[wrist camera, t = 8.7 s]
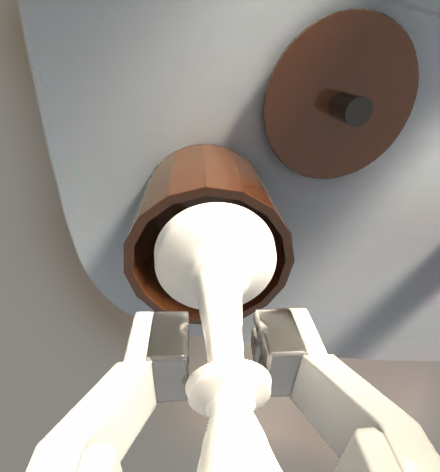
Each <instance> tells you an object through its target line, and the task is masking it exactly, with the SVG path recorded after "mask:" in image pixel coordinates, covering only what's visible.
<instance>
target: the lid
mask: <svg viewBox="0 0 440 472" xmlns="http://www.w3.org/2000/svg"><path fill="white" fill-rule="evenodd" d="M418 79H419V70H418V61H417V55H416V52H415V49H414V46H413V43H412V41H411V40H410V38H409V36H408V34H407V33H406V32H405V30H404V29H403V28H402V27H401V25H399V24H398V23H397V22H396V21H395V20H394V19H392V18H390V17H389V16H387V15H385V14H383V13H380V12H377V11H374V10H368V9H349V10H344V11H339V12H336V13H334V14H331V15H328V16H326V17H324V18H322V19H320V20H318V21H316V22H314V23H313V24H312V25H310V26H309V27H307V28H306V29H305V30H304V31H302V32H301V33H300V34H299V35H298V36H297V37H296V38H295V39H294V40H293V41H292V42H291V43H290V45H289V46H288V47H287V48H286V50H285V51H284V52H283V54H282V55H281V57H280V58H279V60H278V62H277V64H276V66H275V67H274V69H273V72H272V74H271V77H270V79H269V82H268V86H267V89H266V94H265V100H264V113H263V114H264V125H265V130H266V134H267V137H268V140H269V143H270V145H271V147H272V149H273V151H274V152H275V153H276V155H277V156H278V158H279V159H280V160H281V161H282V162H283V163H284V164H285V165H286V166H288V167H289V168H290V169H292V170H293V171H295V172H297V173H299V174H301V175H304V176H307V177H312V178H319V179H328V178H336V177H341V176H345V175H348V174H351V173H353V172H356V171H358V170H360V169H362V168H363V167H365V166H367V165H368V164H370V163H371V162H373V161H374V160H375V159H377V158H378V157H379V156H380V155H381V154H383V153H384V152H385V151H386V149H387V148H388V147H389V146H390V145H391V144H392V143H393V142H394V140H395V139H396V138H397V137H398V135H399V134H400V132H401V131H402V129H403V127H404V126H405V124H406V122H407V120H408V118H409V116H410V113H411V111H412V108H413V105H414V102H415V99H416V94H417V89H418Z"/></svg>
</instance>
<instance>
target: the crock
mask: <svg viewBox="0 0 440 472" xmlns="http://www.w3.org/2000/svg"><path fill="white" fill-rule="evenodd" d="M212 202H222V203H230V204H235V205H238V206H241V207H244V208H246V209H248V210H250V211H252V212H253V213H255V214H256V215H257V216H259V217H260V218H261V219H262V220H263V221H264V222H265V223H266V225H267V226H268V228H269V229H270V231H271V233H272V236H273V239H274V243H275V249H276V256H277V261H276V268H275V271H274V274H273V276H272V279H271V280H270V282H269V284H268V285H267V286H266V288H265V289H264V290H263V291H262V292H261V293H260V294H259V295H257V296H256V297H255V298H253V299H252V300H250V301H249V302H247V303H245V304H243V305H242V317H243V318H245V317H247V316H248V315H250V314H252V313H254V312H255V310H256V309H261V308H263V307H265V306H266V305H268V304H269V303H270V302H271V300H272V299H273V298H274V297H275V296H276V295H277V294H278V293H279V292H280V291H281V290H282V289H283V288H284V287H285V285H286V282H287V280H288V277H289V274H290V271H291V269H292V266H293V263H294V252H293V244H292V235H291V232H290V230H289V228H288V226H287V225H286V223H285V221H284V219H283V217H282V215H281V214H280V212H279V210H278V208H277V206H276V204H275V202H274V201H273V199H272V197H271V195H270V193H269V191H268V190H267V188H266V186H265V184H264V182H263V180H262V179H261V177H260V176H259V174H258V173H257V171H256V170H255V168H254V167H253V166H252V164H251V163H250V162H249V161H248V160H246V159H245V158H244V157H243V156H241V155H240V154H238V153H236V152H235V151H233V150H231V149H228V148H225V147H222V146H217V145H208V144H203V145H194V146H189V147H186V148H183V149H180V150H178V151H176V152H174V153H172V154H171V155H169V156H168V157H167V158H165V159H164V160H163V161H162V162H161V163H160V164H159V165H158V166H157V167H156V168H155V170H154V172H153V174H152V175H151V178H150V180H149V182H148V184H147V186H146V188H145V190H144V193H143V195H142V198H141V201H140V203H139V206H138V208H137V211H136V214H135V216H134V219H133V222H132V224H131V227H130V229H129V232H128V235H127V237H126V240H125V242H124V274H125V276H126V277H127V279H128V281H129V283H130V285H131V287H132V289H133V291H134V292H135V294H136V296H137V297H138V298H139V299H141V300H142V301H143V302H144V303H146V304H147V305H148V306H149V307H151V308H152V309H153V310H154V311H188V316H189V324H202V323H201V318H200V313H199V309H195V308H191V307H188V306H186V305H184V304H182V303H180V302H178V301H176V300H175V299H173V298H172V297H171V296H170V295H169V294H168V293H167V292H166V291H165V290H164V289H163V288H162V286H161V284H160V283H159V281H158V279H157V276H156V272H155V266H154V248H155V243H156V240H157V238H158V235H159V233H160V232H161V230H162V229H163V227H164V226H165V225H166V224H167V223H168V222H169V221H170V220H171V219H172V218H173V217H174V216H176V215H177V214H178V213H180V212H182V211H184V210H186V209H188V208H190V207H193V206H196V205H199V204H204V203H212Z"/></svg>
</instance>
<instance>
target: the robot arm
mask: <svg viewBox="0 0 440 472" xmlns="http://www.w3.org/2000/svg"><path fill="white" fill-rule="evenodd" d="M254 323H255V327H254V328H253V329H252V334H251V348H252V354H253V360H254V362H256V363H258V364H260V365H262V366H263V367H264V368H265V369H266V370H267V371H268V372H269V374H270V376H271V379H272V385H271V395H270V397H273V396H274V397H276V396H277V397H278V396H291V397H290V398H291V400H292V401H293V402H294V403H295V405H296V406H297V407H298V408H299V409H300V411H301V412H302V413H303V414H304V415H305V417H306V418H307V419H308V421H310V423H311V424H312V425H313V427H314V428H315V429H316V430H317V432H318V433H319V434H320V435H321V436H322V438H323V439H324V440H325V441H326V443H327V444H328V445H329V446H330V447H331V449H332V450H333V451H334V452H335V454H336V455H337V456H338V457H339V461H338V463H337V464H336V466H335V468H334V470H333V472H440V457H439V455H438V454H437V452H436V450H435V449H434V447H433V446H432V444H431V442H430V441H429V439H428V437H427V436H426V434H425V433H424V431H423V429H422V428H421V426H420V424H419V423H418V422H417V421H415V420H414V419H413V418H412V417H410V416H409V415H408V414H407V413H405V412H404V411H403V410H402V409H400V408H399V407H398V406H397V405H395V404H394V403H393V402H392V401H391V400H389V399H388V398H387V397H386V396H384V395H383V394H382V393H381V392H379V391H378V390H377V389H375V388H374V387H373V386H372V385H371V384H369V383H368V382H367V381H366V380H364V379H363V378H362V377H361V376H360V375H358V374H357V373H356V372H354V371H353V370H352V369H351V368H350V367H348V366H347V365H346V364H345V363H343V362H342V361H341V360H340V359H338V358H337V357H336V356H335V355H333V354H328V353H327V351H326V349H325V347H324V345H323V343H322V340H321V338H320V336H319V334H318V332H317V330H316V327H315V325H314V323H313V321H312V319H311V316H310V314H309V312H308V310H307V309H306V308H289V309H287V308H285V309H256V310H255V313H254ZM188 363H189V316H188V311H154V312H136V314H135V315H134V319H133V323H132V327H131V331H130V336H129V339H128V343H127V348H126V352H125V356H124V360H123V362H117V363H116V364H115V365H114V366H113V367H112V368H111V369H110V370H109V371H108V372H107V373H106V374H105V375H104V376H103V378H101V380H100V381H99V382H98V383H97V384H96V385H95V386H94V387H93V388H92V389H91V390H90V391H89V392H88V393H87V394H86V395H85V396H84V397H83V398H82V399H81V400H80V401H79V402H78V403H77V404H76V405H75V406H74V407H73V408H72V409H71V410H70V412H69V413H67V415H66V416H65V417H64V418H63V419H62V420H61V421H60V422H59V423H58V424H57V425H56V426H55V427H54V428H53V429H52V430H51V431H50V432H49V433H48V434H47V435H46V436H45V437H44V438H43V439H42V440H41V441H40V442H39V443H38V444H37V445H36V448H35V451H34V453H33V455H32V458H31V460H30V462H29V465H28V467H27V470H26V472H123V471H122V468H121V465H120V462H121V461H122V459H123V458H124V456H125V454H126V453H127V451H128V450H129V448H130V446H131V445H132V443H133V442H134V440H135V439H136V437H137V435H138V434H139V432H140V431H141V429H142V428H143V426H144V424H145V423H146V421H147V420H148V418H149V417H150V415H151V413H152V412H153V410H154V409H155V407H156V405H157V403H162V402H174V401H187V400H188V397H187V395H186V392H185V385H186V382H187V380H188Z"/></svg>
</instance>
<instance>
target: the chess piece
mask: <svg viewBox="0 0 440 472" xmlns="http://www.w3.org/2000/svg"><path fill="white" fill-rule="evenodd" d="M276 261H277V256H276V249H275V243H274V239H273V236H272V233H271V231H270V229H269V228H268V226H267V225H266V223H265V222H264V221H263V220H262V219H261V218H260V217H259V216H257V215H256V214H255V213H253V212H252V211H250V210H248V209H246V208H244V207H241V206H238V205H235V204H230V203H222V202H212V203H204V204H199V205H196V206H193V207H190V208H188V209H186V210H184V211H182V212H180V213H178V214H177V215H176V216H174V217H173V218H172V219H171V220H170V221H169V222H168V223H167V224H166V225H165V226H164V227H163V229H162V230H161V232H160V233H159V235H158V238H157V240H156V243H155V248H154V266H155V272H156V276H157V279H158V281H159V283H160V284H161V286H162V288H163V289H164V290H165V291H166V292H167V293H168V294H169V295H170V296H171V297H172V298H173V299H175V300H176V301H178V302H180V303H182V304H184V305H186V306H188V307H191V308H195V309H199V313H200V318H201V323H202V329H203V334H204V340H205V346H206V354H207V361H208V364H205V365H203V366H202V367H200V368H198V369H197V370H196V371H194V372H193V373H192V374H191V375H190V377H189V378H188V380H187V382H186V385H185V392H186V395H187V397H188V402H189V404H190V406H191V407H192V408H193V409H194V410H195V411H196V412H198V413H200V414H201V415H204V416H207V417H210V419H209V422H208V426H207V429H206V432H205V436H204V439H203V443H202V450H201V456H200V460H199V464H198V468H197V472H283V471H282V469H281V467H280V466H279V464H278V462H277V460H276V458H275V456H274V454H273V452H272V450H271V448H270V445H269V443H268V440H267V437H266V435H265V433H264V431H263V429H262V427H261V425H260V424H259V422H258V420H257V418H256V416H255V414H254V413H253V412H254V411H256V410H258V409H260V408H261V407H262V406H263V405H264V404H265V403H266V402H267V401H268V399H269V398H270V395H271V385H272V379H271V376H270V374H269V372H268V371H267V370H266V369H265V368H264V367H263V366H262V365H260V364H258V363H256V362H253V361H250V360H246V359H244V342H243V317H242V305H243V304H245V303H247V302H249V301H250V300H252V299H253V298H255V297H256V296H257V295H259V294H260V293H261V292H262V291H263V290H264V289H265V288H266V286H267V285H268V284H269V282H270V280H271V279H272V276H273V274H274V271H275V268H276Z"/></svg>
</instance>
